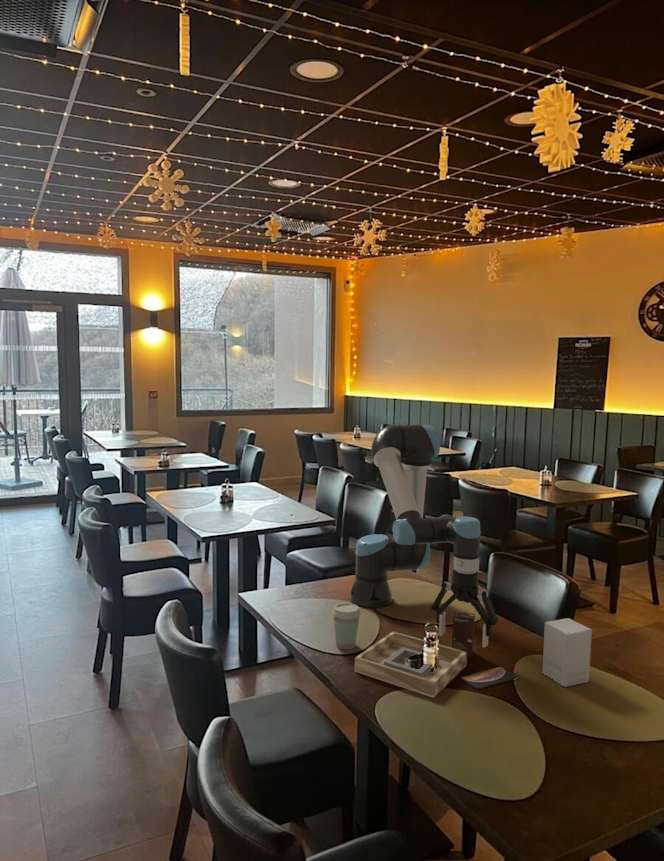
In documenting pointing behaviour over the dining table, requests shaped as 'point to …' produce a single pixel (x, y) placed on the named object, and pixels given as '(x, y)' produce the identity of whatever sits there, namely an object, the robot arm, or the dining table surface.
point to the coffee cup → (346, 624)
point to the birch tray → (390, 644)
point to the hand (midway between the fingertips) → (463, 640)
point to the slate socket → (399, 656)
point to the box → (463, 632)
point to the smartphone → (488, 678)
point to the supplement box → (567, 652)
